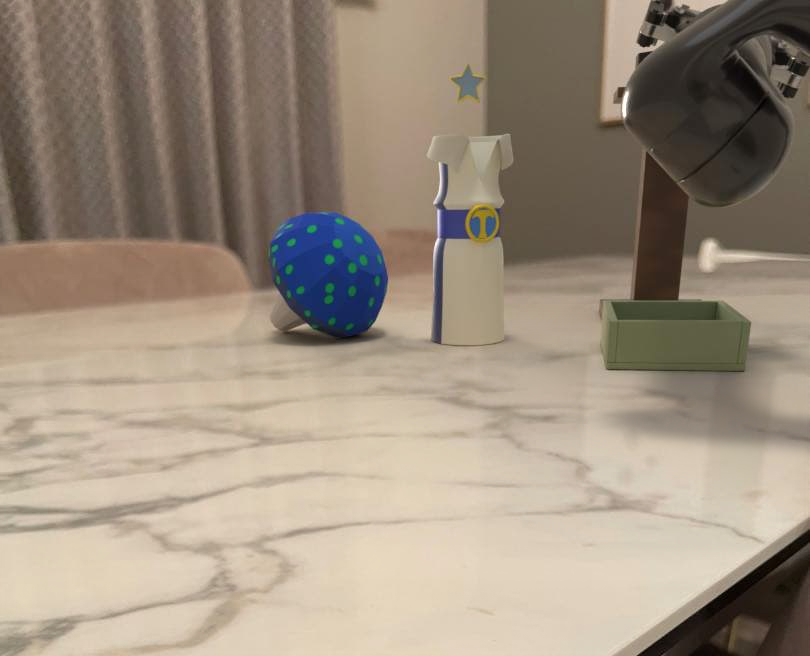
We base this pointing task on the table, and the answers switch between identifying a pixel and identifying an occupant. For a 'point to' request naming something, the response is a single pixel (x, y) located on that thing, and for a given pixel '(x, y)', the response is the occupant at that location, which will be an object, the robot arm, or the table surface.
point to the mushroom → (326, 275)
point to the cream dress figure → (469, 232)
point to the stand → (657, 233)
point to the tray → (674, 335)
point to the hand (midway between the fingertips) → (725, 33)
